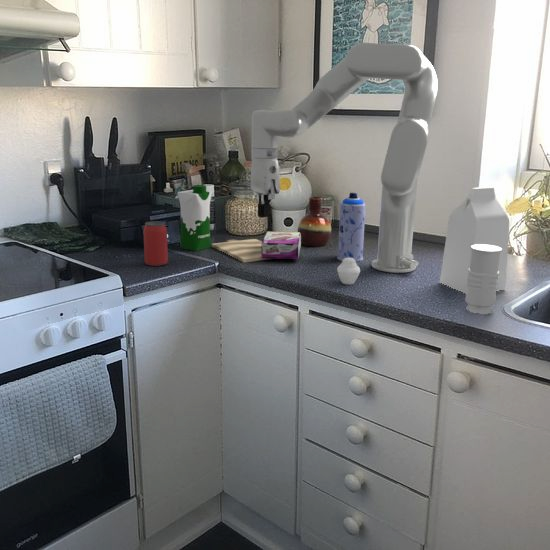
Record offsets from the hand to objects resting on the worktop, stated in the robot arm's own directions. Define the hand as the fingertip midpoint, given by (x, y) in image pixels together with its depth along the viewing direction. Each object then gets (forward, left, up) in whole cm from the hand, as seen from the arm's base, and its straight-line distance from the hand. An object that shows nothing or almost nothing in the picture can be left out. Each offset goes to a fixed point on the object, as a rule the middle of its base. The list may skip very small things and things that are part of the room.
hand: (263, 216), depth 184 cm
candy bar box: (-7, -1, -9) cm, 12 cm away
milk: (-51, -34, -13) cm, 63 cm away
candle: (-65, -21, -13) cm, 69 cm away
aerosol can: (-13, -23, -13) cm, 29 cm away
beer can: (+8, +31, -13) cm, 34 cm away
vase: (+8, -24, -13) cm, 28 cm away
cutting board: (+10, 0, -13) cm, 16 cm away
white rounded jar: (-33, -7, -13) cm, 36 cm away
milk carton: (+21, +13, -13) cm, 28 cm away
